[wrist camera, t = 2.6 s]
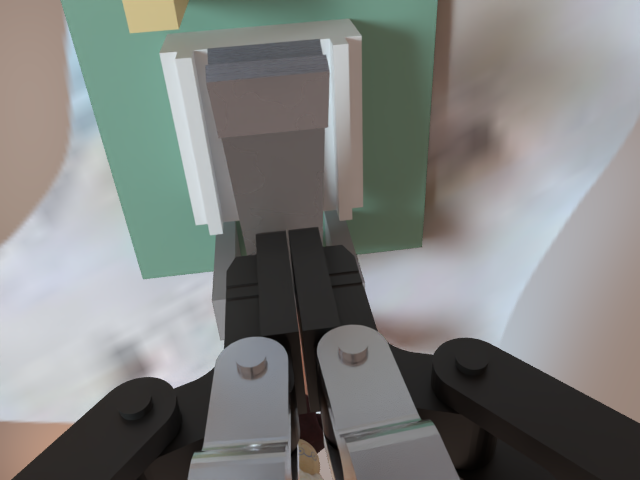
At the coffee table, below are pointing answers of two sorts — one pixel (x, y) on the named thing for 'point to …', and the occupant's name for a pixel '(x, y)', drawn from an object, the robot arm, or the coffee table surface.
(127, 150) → the board
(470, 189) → the coffee table surface
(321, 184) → the gray bar
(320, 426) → the grandmother figurine
